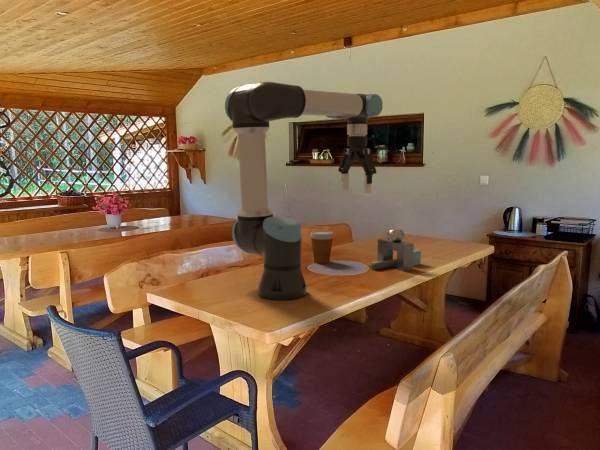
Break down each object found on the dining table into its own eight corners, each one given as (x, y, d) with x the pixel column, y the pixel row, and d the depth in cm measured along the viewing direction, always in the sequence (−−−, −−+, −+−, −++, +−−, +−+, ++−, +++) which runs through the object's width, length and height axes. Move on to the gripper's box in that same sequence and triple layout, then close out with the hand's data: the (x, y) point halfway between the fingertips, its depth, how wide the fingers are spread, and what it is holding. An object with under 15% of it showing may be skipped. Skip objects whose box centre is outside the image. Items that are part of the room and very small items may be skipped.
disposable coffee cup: (331, 264, 193) (332, 234, 191) (308, 263, 195) (308, 233, 193) (335, 259, 202) (335, 230, 200) (312, 258, 204) (312, 230, 202)
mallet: (378, 271, 182) (378, 257, 181) (368, 268, 187) (368, 254, 186) (420, 264, 194) (421, 250, 193) (410, 261, 198) (410, 248, 197)
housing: (403, 271, 183) (404, 233, 180) (377, 263, 195) (378, 227, 193) (412, 269, 185) (414, 231, 183) (386, 262, 197) (387, 226, 195)
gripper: (386, 135, 179) (385, 193, 182) (345, 136, 200) (344, 188, 203) (371, 134, 175) (369, 194, 178) (330, 136, 196) (329, 189, 199)
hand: (356, 191), depth 190 cm, fingers open, 13 cm apart
